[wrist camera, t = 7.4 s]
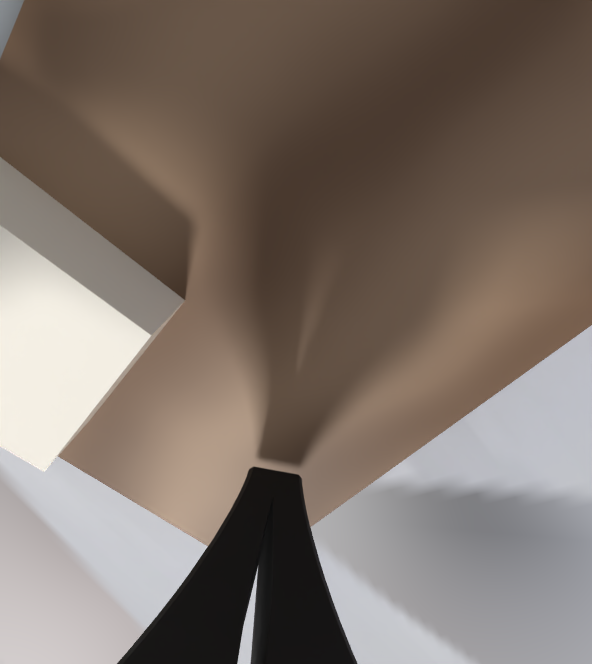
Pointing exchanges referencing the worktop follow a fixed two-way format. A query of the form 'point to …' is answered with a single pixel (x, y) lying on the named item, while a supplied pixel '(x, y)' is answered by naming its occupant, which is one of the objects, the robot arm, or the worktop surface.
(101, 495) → the worktop surface
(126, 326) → the cream tile
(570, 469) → the worktop surface
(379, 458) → the walnut plate
